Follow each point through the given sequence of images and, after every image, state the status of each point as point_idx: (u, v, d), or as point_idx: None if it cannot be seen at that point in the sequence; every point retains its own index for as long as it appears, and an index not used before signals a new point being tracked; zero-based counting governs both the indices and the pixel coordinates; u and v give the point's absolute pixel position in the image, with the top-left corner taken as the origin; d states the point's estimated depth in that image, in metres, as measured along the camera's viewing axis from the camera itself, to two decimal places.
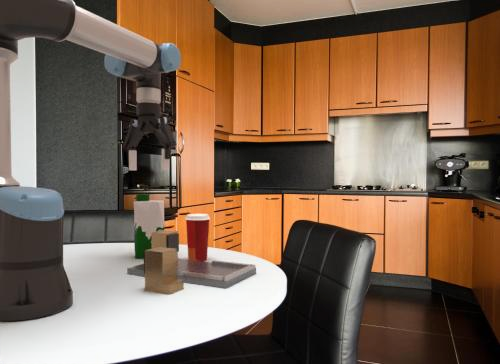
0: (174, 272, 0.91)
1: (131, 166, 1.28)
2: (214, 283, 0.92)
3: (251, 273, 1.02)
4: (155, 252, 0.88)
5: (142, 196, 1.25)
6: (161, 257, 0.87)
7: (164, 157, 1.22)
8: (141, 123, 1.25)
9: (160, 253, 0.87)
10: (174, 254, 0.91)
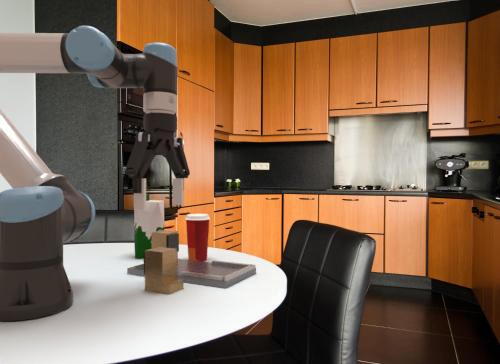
0: (174, 272, 0.91)
1: (173, 199, 0.97)
2: (214, 283, 0.92)
3: (251, 273, 1.02)
4: (155, 252, 0.88)
5: None
6: (161, 257, 0.87)
7: None
8: None
9: (160, 253, 0.87)
10: (174, 254, 0.91)
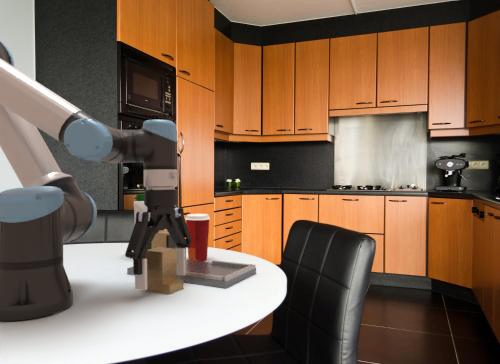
0: (174, 272, 0.91)
1: None
2: (214, 283, 0.92)
3: (251, 273, 1.02)
4: (155, 252, 0.88)
5: (142, 196, 1.25)
6: (161, 257, 0.87)
7: None
8: None
9: (160, 253, 0.87)
10: (174, 254, 0.91)
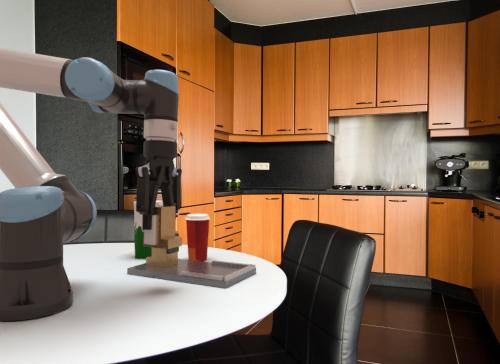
0: (173, 230, 0.90)
1: None
2: (214, 283, 0.92)
3: (251, 273, 1.02)
4: None
5: None
6: (159, 212, 0.87)
7: None
8: None
9: (159, 208, 0.87)
10: (173, 211, 0.90)
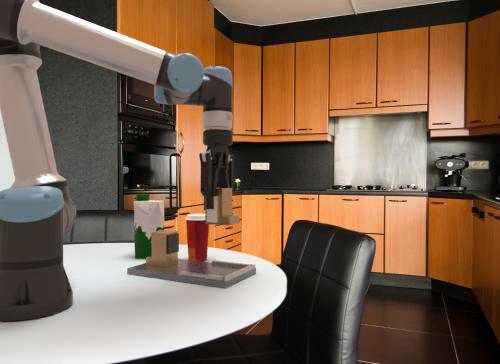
0: (230, 209, 1.01)
1: None
2: (214, 283, 0.92)
3: (251, 273, 1.02)
4: None
5: (142, 196, 1.25)
6: (220, 192, 0.97)
7: None
8: None
9: (220, 189, 0.97)
10: (230, 192, 1.01)
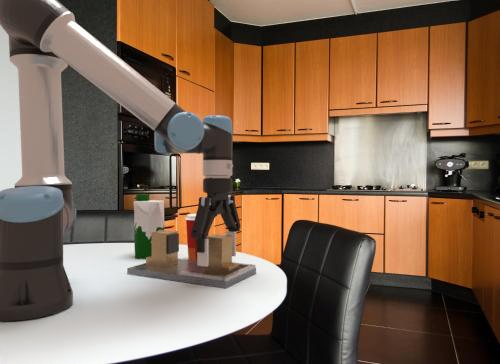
0: (230, 257, 1.01)
1: None
2: (214, 283, 0.92)
3: (251, 273, 1.02)
4: (215, 238, 0.98)
5: (142, 196, 1.25)
6: (220, 242, 0.97)
7: None
8: None
9: (220, 239, 0.98)
10: (230, 240, 1.01)
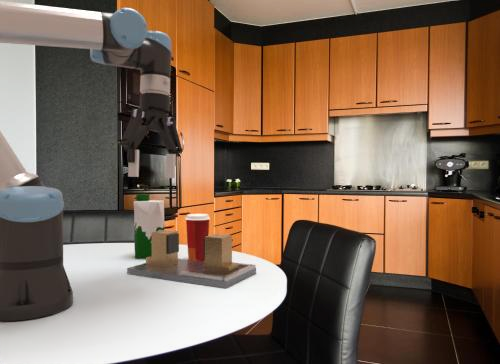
0: (230, 257, 1.01)
1: (166, 173, 1.07)
2: (214, 283, 0.92)
3: (251, 273, 1.02)
4: (215, 238, 0.98)
5: (142, 196, 1.25)
6: (220, 242, 0.97)
7: None
8: None
9: (220, 239, 0.98)
10: (230, 240, 1.01)
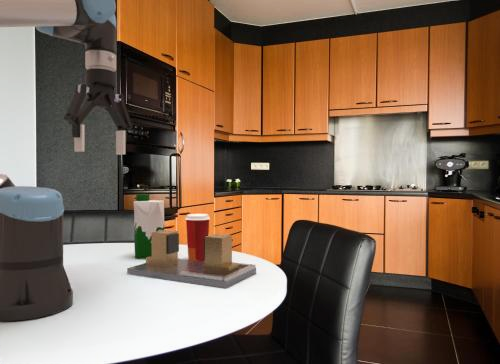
0: (230, 257, 1.01)
1: (117, 150, 1.09)
2: (214, 283, 0.92)
3: (251, 273, 1.02)
4: (215, 238, 0.98)
5: (142, 196, 1.25)
6: (220, 242, 0.97)
7: None
8: None
9: (220, 239, 0.98)
10: (230, 240, 1.01)
